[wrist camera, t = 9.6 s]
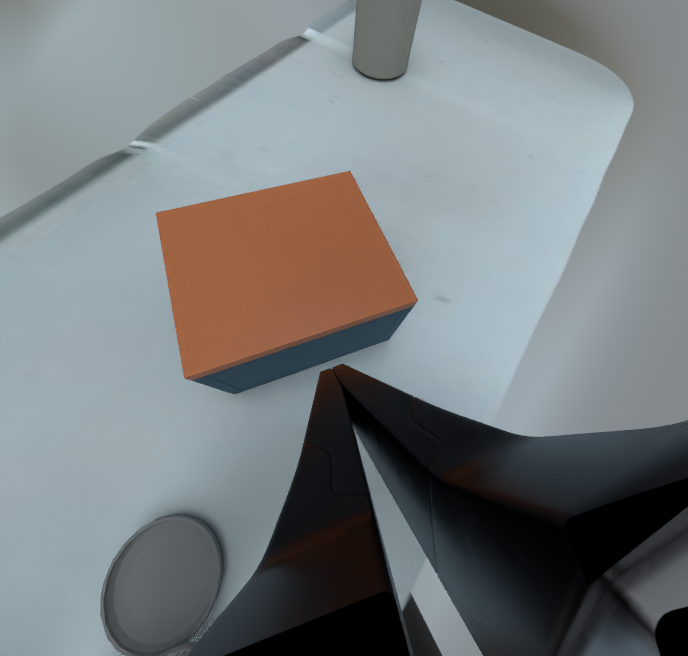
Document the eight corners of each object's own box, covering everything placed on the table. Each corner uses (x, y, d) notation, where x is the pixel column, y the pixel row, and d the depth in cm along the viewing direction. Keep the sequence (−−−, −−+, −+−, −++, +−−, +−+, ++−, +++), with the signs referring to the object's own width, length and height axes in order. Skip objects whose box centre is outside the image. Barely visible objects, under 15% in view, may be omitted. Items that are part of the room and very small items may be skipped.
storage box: (208, 282, 23) (164, 230, 17) (346, 245, 26) (353, 187, 20) (234, 394, 20) (192, 381, 14) (389, 339, 23) (414, 306, 16)
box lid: (162, 221, 17) (155, 212, 17) (349, 180, 20) (350, 170, 19) (191, 381, 14) (183, 378, 13) (414, 306, 16) (418, 300, 16)
